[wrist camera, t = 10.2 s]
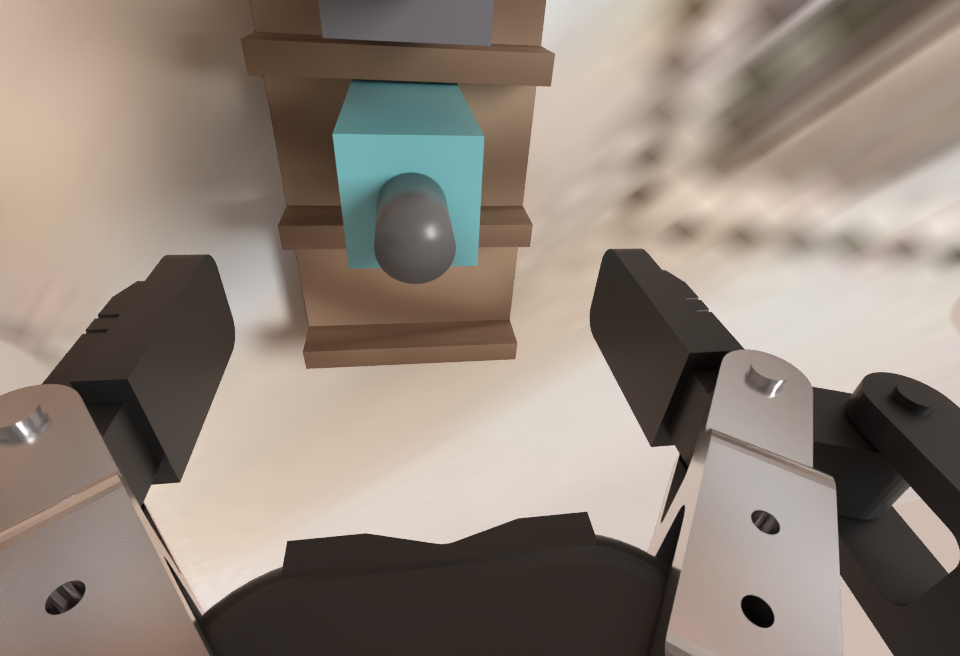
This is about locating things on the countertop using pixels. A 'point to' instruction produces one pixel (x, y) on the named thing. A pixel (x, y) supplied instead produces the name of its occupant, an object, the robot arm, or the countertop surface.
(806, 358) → the countertop surface
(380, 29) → the charcoal plug
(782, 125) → the countertop surface
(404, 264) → the teal plug
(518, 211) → the wooden slotted rack
